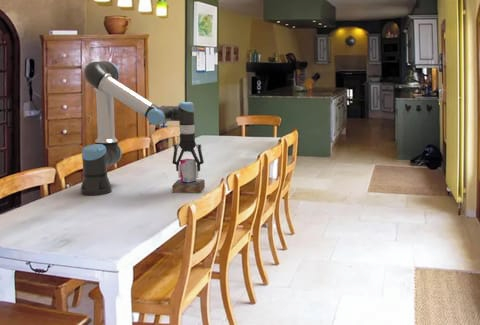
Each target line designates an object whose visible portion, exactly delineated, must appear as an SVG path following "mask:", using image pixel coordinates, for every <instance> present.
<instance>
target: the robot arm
mask: <svg viewBox="0 0 480 325" xmlns="http://www.w3.org/2000/svg"><path fill="white" fill-rule="evenodd" d="M83 75H84V79H85V81H86V82H87V83H88V84H89V85H90V86H92V89H93V90H94V91H95V95H96V98H95V99H96V120H97V122H96V123H97V125H96V126H97V139H95V140H94V143H93V144H91V145H90V144H88V145H86V146H84V147H83V148H82V150H81V152H82V153H81V159H82V173H83V180H82V183H81V185H80V186H81V187H80V194H81V195H85V196H100V195H106V194H110V193H111V192H112V191H113V190H112V189H113V188H112V185H111V182H110V179H109V177H108V168H109V167H112V166H114V165H116V164H117V163H118V162H119V161H120V160H121V158H122V155H123V154H122V153H123V152H122V148H121V146H120V145H119V140H118V139H117V138H116V136H115V135H116V134H115V133H116V132H115V131H116V129H115V102H114V98H115V99H116V100H117V101H119V102H121V103H122V104H124V105H125V106H127V107H129V108H130V109H132V110H133V111H135V112H137V113H138V114H140V115H141V116H143V117H145V118H146V119H147V121H148V122H149V124H151V125H152V126H153V125H154V126H156V125H157V126H158V125H159V126H160V125H162V124H163V123H168V122H178V125H179V126H178V128H179V143H175V144H173V148H174V149H173V150H174V151H173V155H172V162H171V163H172V164H174V165H175V167H176V168H175V170H176V172H178V173H177V174H178V175H177V176H178V179H181V167H180V160H182V157H183V155H184V154H185V153H187V152H189V153H190V154H192V157H193V159H195V161H196V179H198V178H199V172H200V171H201V165H203V164H204V163H205V161H204V156H203V152H202V144H201V143H196V135H195V130H196V128H195V106H194V103H193V102H192V101H181V102H178V105H177V106H176V105H156V104H154V103H153V102H152V101H150V100H148V99H147V98H145V97H144V96H142V95H140V94H139V93H137V92H135V91H134V90H132V89H131V88H129V87H127V85H125V84H123V83H121V82H120V81H119V79H120V71H119V68H118V66H117V65H116V64H115V63H114V62H112V61H107V60H100V61H92V62H89V63H88V64H87V65H86V66H85V67H84V70H83ZM179 147H180V149H181V150H180V153H179V155H178V149H179ZM195 148H196V149H197V153H198V156H197V154H196V151H195ZM177 156H178V157H177Z"/></svg>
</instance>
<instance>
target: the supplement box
mask: <svg viewBox="0 0 480 325" xmlns="http://www.w3.org/2000/svg"><path fill="white" fill-rule="evenodd" d="M179 164H180V167H181V178H180V179H181V182H183V183H192V182H196V179H197V178H196V165H197V163H196V161H195V159H194V158H185V159H181V160H180V163H179Z"/></svg>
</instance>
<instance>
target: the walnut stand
mask: <svg viewBox="0 0 480 325" xmlns="http://www.w3.org/2000/svg"><path fill="white" fill-rule="evenodd" d="M205 183H206V182H205V179H198V178H196V182H192V183H183V182H181V178H178V179H177V180H176V181H175V182H174V183H173V184H172V185H171V186H172V188H171V190H172V193H178V194H181V193H183V194H186V193H188V194H201V193H202V192H203V190H204V189H205V186H206V185H205Z"/></svg>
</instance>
